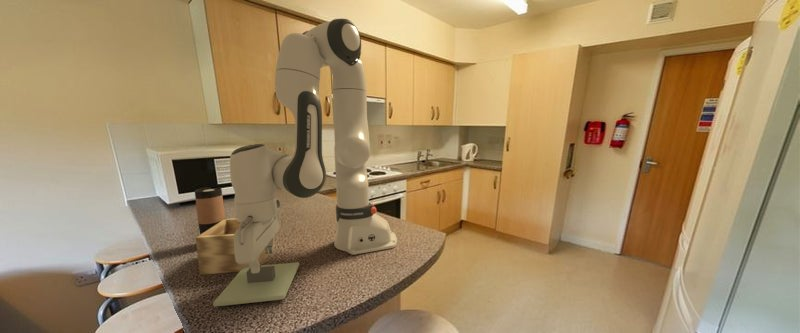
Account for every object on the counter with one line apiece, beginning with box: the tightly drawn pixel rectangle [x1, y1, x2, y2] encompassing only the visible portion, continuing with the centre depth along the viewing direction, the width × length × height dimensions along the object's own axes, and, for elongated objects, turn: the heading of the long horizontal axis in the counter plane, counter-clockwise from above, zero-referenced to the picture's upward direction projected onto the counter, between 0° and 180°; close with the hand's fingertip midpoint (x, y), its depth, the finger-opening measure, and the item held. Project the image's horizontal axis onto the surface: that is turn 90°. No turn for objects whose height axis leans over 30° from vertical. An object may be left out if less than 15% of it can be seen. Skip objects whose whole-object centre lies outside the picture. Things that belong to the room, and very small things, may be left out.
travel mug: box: [194, 186, 226, 235], centre depth 88 cm, size 8×8×20 cm
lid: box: [212, 261, 300, 308], centre depth 64 cm, size 15×15×5 cm
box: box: [194, 217, 276, 276], centre depth 77 cm, size 15×15×11 cm
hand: (263, 261), depth 64 cm, fingers open, 8 cm apart
